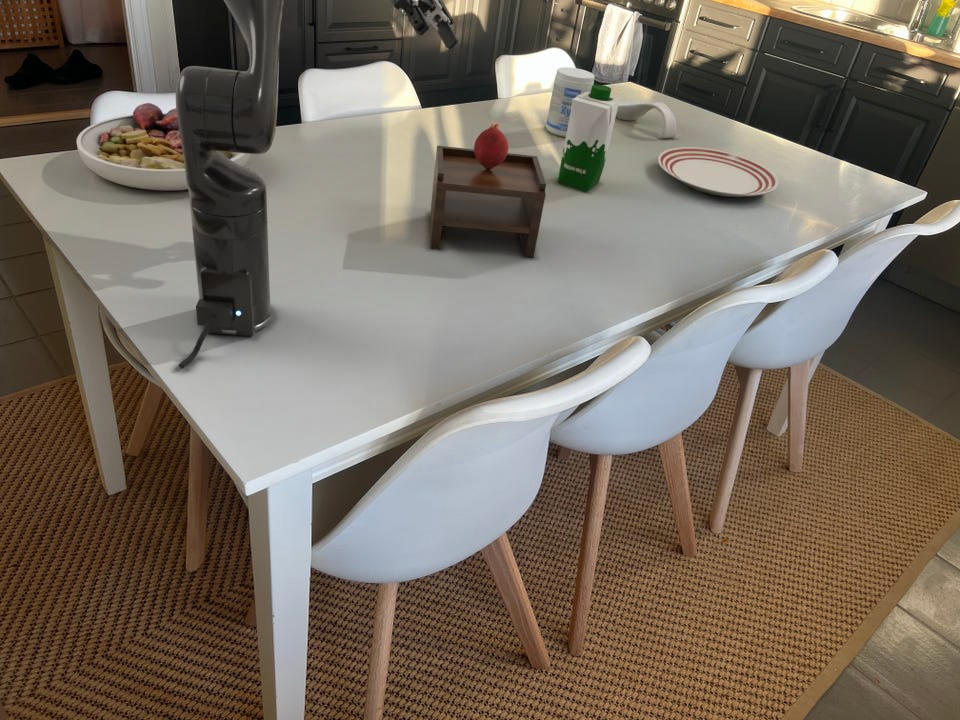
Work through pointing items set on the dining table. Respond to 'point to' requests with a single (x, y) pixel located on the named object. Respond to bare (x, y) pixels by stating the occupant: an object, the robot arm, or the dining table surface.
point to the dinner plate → (718, 172)
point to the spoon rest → (637, 109)
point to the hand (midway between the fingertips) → (439, 38)
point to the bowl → (140, 150)
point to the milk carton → (588, 138)
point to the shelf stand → (487, 195)
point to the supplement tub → (566, 97)
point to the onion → (491, 147)
